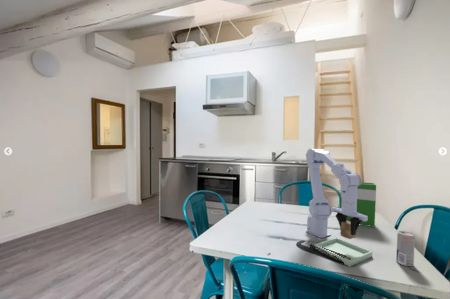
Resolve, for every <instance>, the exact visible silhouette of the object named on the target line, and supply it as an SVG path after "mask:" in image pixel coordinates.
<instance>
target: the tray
mask: <svg viewBox="0 0 450 299" xmlns="http://www.w3.org/2000/svg"><path fill="white" fill-rule="evenodd" d="M314 246H316V247H318V248H320V249H322V250H324V251H326V252H327V253H329V254H332V255H334V256H336V257H337V258H339V259H341V260H342V261H343V262H344V264H343V265H345V266H347V267H351V268H352V267H353V266H355V265H358V264H360V263H362V262H365V261H367V260H369V259H371V258H373V251H371V250H369V249H367V248H364V247H361V246H359V245H358V244H357V245H356V244H354V243H352V242H349V241H346V240H344V239H341V238H339V237H334V238H331V239H327V240H324V241H321V242H318V243H315V244H313V247H314ZM320 246H322V247H324V248H326V249H329V250H332V251H335V252H337V253H340V254H343V255H346V256H348V257H350V258H351V260H348V259H346V258H343V257H341V256H339V255H337V254H335V253H333V252H331V251H329V250H326V249H324V248H322V247H320Z"/></svg>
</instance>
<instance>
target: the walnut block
mask: <svg viewBox="0 0 450 299" xmlns="http://www.w3.org/2000/svg"><path fill="white" fill-rule="evenodd" d="M340 237H344V238H346V239H349V240H352V239H354V238H356V234H355V235H351V223H350V221H344V222H341V229H340Z"/></svg>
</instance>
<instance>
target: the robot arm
mask: <svg viewBox="0 0 450 299" xmlns="http://www.w3.org/2000/svg"><path fill="white" fill-rule="evenodd" d="M305 159H306V165H307V166H308V171H309V172H308V173H309V178H310V185H311V191H312V197H313V198H312V199H311V200H309V201H308V205H309V206H308V212H309V216H307V220H306V221H307V222H306V230H305V232H306V233H308V234H311V235H312V236H315V237H318V238H320V239H323V238H325V237H329V236H332V234H331V233H329V232H328V223H329V222H328V220H329V218H330V216H331V215H332V214H333V213H337V214H335V218H336V219H337V221H338V225H339V228H340V230H341V222H344V221H346V218H347V216H350V217H353V218H351V219H350V223H351V235H355V236H356V234H357V230H358V228H359V226H360V225H359V224H360V223H361V221H368V216H366V215H363V214H360V213H358V212H357V187H358V186H359V185H360V184H361V182H362V178H361V176H360V175H359V174H358V173H357V172H352V171H351V170H350V169H348V168H347V167H346V166H345V165H344V163H343V162H342V163H341V162H337V161H336V160H335V159H334V158H333V157H332V156H331V155H330V151H329V150H328V149H326V148H309V149H307V151H306V154H305ZM324 164H325V165H327V166H328V167H329V168H330V171H331V173H332V174H333V175H334V176H336V177H337V179H338V182H339V185H340V191H341V190H342V206H341V208H340V207H336V206H333V207H332V206H331V204H330V200H329V199H327V198H326V197H325V195H324V188H323V183H322V176H321V170H320V167H321V166H323V165H324Z"/></svg>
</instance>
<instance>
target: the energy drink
mask: <svg viewBox="0 0 450 299" xmlns="http://www.w3.org/2000/svg"><path fill="white" fill-rule="evenodd" d="M396 235H397V236H396V238H397V239H396V263H398V265H400V264H401V266H403V265H404V267H406V266H412V267H414V266H413V265H415V264H414V262H415V261H414V260H415V243H416V242H415V241H416V237H415V234H414V233H413V232H412V233H411V232H409V231H406V230H399V231H398V232H397V234H396Z"/></svg>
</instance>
